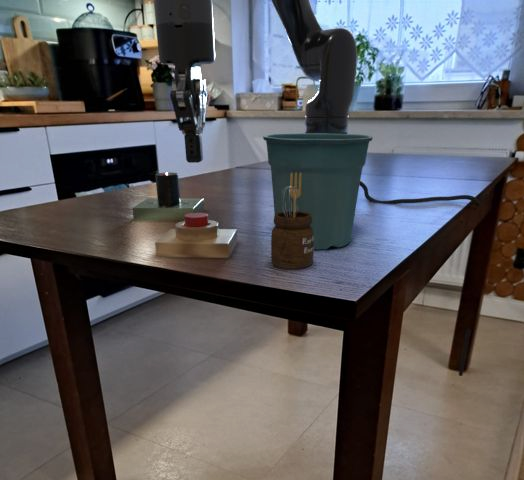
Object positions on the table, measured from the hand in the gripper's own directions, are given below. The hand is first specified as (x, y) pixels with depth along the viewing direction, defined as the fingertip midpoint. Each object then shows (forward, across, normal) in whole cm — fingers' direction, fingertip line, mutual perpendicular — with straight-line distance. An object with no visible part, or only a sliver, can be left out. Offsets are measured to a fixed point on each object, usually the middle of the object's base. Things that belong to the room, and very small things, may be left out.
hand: (194, 161), depth 76 cm
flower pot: (+13, -6, +18) cm, 23 cm away
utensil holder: (+13, +8, +15) cm, 21 cm away
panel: (+13, -25, -11) cm, 30 cm away
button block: (+13, 0, 0) cm, 13 cm away
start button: (+9, 0, 0) cm, 9 cm away
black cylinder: (+10, -25, -11) cm, 29 cm away
